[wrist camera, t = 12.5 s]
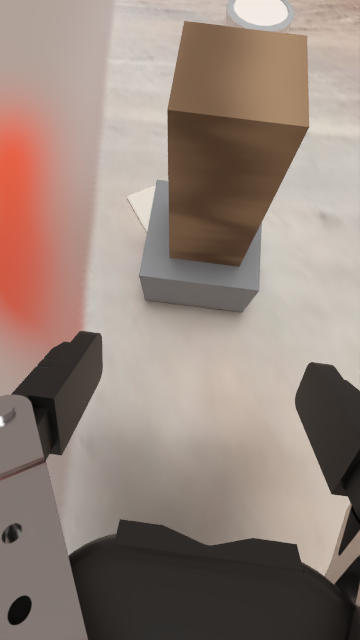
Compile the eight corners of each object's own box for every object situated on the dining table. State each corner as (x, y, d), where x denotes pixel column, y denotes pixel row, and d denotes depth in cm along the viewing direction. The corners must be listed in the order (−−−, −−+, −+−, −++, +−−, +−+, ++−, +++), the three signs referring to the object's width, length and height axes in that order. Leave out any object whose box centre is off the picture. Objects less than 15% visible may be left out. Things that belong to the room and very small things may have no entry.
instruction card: (209, 164, 30) (210, 162, 30) (248, 219, 28) (248, 218, 28) (126, 198, 28) (126, 196, 28) (161, 258, 26) (161, 257, 26)
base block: (246, 229, 28) (262, 192, 23) (242, 312, 25) (258, 290, 20) (159, 218, 28) (156, 179, 23) (145, 299, 25) (139, 275, 20)
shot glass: (279, 81, 34) (306, 3, 28) (255, 114, 33) (276, 39, 26) (232, 59, 35) (246, -21, 29) (205, 90, 33) (214, 12, 27)
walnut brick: (243, 208, 22) (307, 35, 12) (239, 266, 21) (309, 126, 10) (178, 200, 22) (184, 20, 12) (169, 257, 21) (167, 109, 10)
